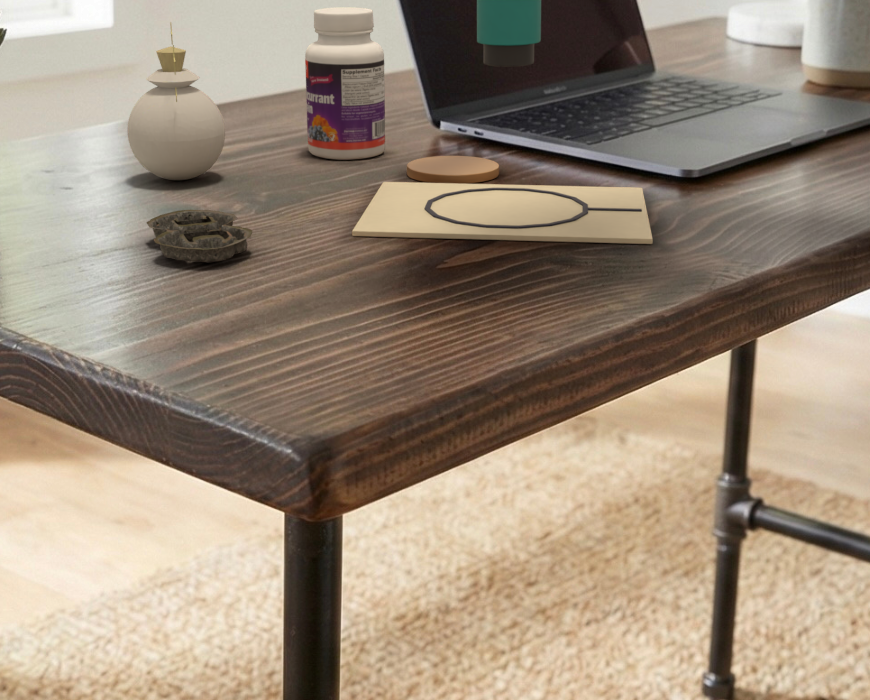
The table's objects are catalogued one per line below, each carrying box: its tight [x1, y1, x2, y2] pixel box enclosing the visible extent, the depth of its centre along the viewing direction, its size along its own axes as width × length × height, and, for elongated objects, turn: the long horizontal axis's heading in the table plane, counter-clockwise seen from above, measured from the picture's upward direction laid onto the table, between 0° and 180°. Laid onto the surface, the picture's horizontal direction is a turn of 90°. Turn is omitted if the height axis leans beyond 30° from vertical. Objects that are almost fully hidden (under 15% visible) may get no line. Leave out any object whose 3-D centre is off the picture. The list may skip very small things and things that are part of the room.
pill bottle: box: [304, 6, 386, 161], centre depth 89 cm, size 5×5×10 cm
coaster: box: [406, 155, 500, 184], centre depth 84 cm, size 6×6×1 cm
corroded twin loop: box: [146, 209, 253, 263], centre depth 67 cm, size 5×8×1 cm, turn 21°
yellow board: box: [351, 181, 654, 245], centre depth 75 cm, size 16×12×1 cm
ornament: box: [127, 21, 226, 181], centre depth 81 cm, size 6×7×10 cm
